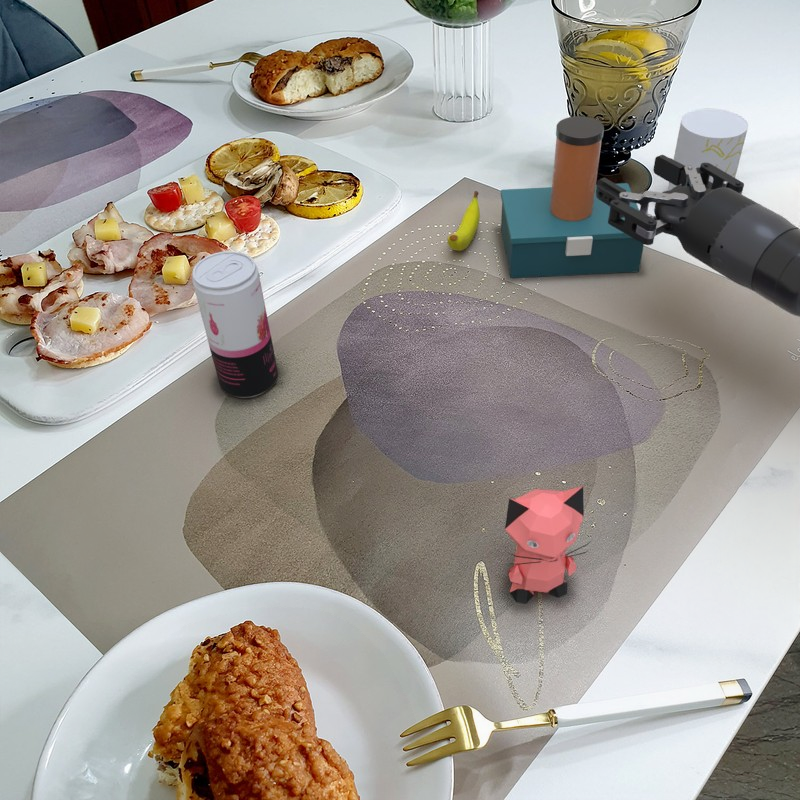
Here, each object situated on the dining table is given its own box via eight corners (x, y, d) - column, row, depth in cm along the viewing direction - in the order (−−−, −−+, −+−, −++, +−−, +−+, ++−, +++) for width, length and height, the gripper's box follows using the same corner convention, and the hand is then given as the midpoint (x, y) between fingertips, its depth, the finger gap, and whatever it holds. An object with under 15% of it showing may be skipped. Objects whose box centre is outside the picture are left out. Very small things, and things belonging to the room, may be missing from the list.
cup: (690, 227, 113) (709, 143, 105) (652, 199, 118) (668, 117, 110) (739, 212, 115) (762, 128, 107) (700, 185, 121) (719, 103, 112)
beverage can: (290, 378, 95) (270, 266, 85) (243, 409, 92) (216, 297, 81) (254, 352, 99) (230, 242, 88) (207, 381, 95) (177, 270, 85)
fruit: (469, 221, 117) (469, 188, 113) (483, 223, 116) (484, 190, 113) (444, 262, 110) (444, 228, 106) (460, 265, 109) (460, 231, 106)
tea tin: (588, 197, 108) (599, 114, 101) (597, 220, 104) (608, 136, 97) (546, 199, 108) (553, 117, 101) (552, 222, 104) (560, 139, 97)
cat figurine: (507, 622, 72) (513, 534, 64) (487, 556, 77) (491, 467, 68) (588, 607, 73) (605, 519, 64) (563, 543, 77) (576, 453, 69)
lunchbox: (620, 221, 115) (627, 181, 111) (642, 275, 106) (649, 233, 102) (498, 227, 115) (500, 187, 111) (509, 281, 106) (511, 241, 102)
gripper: (800, 184, 86) (680, 124, 96) (697, 231, 80) (582, 162, 91) (780, 247, 91) (668, 184, 101) (682, 295, 86) (575, 223, 96)
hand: (628, 174), depth 96 cm, fingers open, 8 cm apart
